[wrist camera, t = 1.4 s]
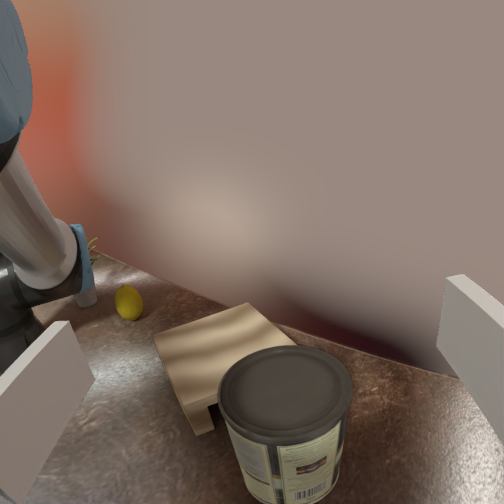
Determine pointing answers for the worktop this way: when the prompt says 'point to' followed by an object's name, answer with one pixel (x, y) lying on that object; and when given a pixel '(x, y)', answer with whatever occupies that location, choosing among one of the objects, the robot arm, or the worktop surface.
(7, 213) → the robot arm
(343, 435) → the coffee can
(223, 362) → the wooden block
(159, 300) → the worktop surface
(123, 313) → the lemon
